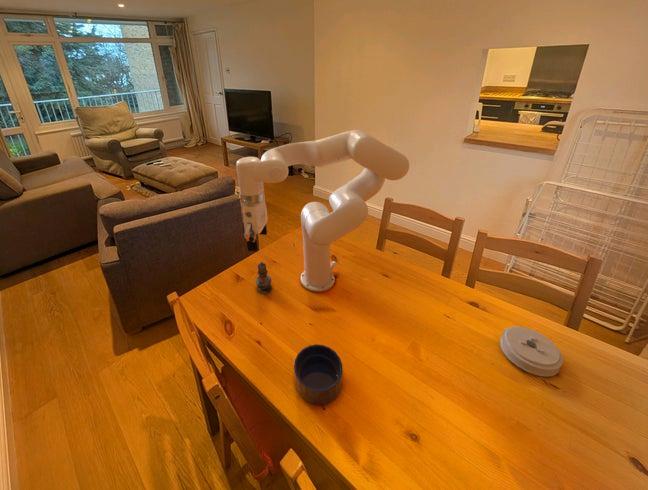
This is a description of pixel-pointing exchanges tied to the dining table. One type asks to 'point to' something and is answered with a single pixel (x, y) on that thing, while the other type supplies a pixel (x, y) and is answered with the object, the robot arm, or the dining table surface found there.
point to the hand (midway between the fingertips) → (257, 242)
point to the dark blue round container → (318, 374)
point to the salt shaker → (263, 279)
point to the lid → (531, 351)
